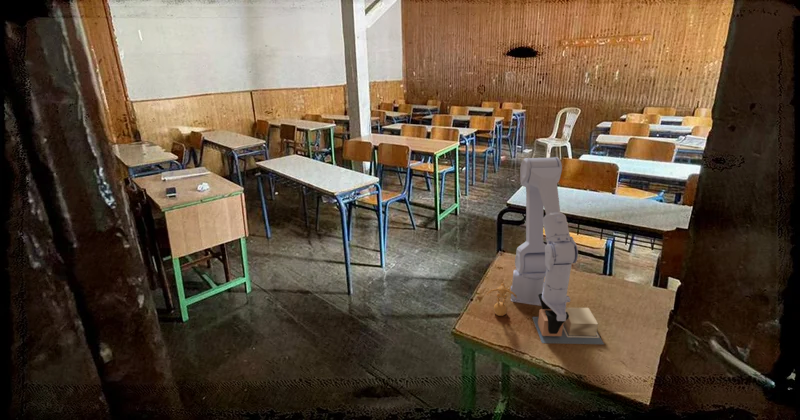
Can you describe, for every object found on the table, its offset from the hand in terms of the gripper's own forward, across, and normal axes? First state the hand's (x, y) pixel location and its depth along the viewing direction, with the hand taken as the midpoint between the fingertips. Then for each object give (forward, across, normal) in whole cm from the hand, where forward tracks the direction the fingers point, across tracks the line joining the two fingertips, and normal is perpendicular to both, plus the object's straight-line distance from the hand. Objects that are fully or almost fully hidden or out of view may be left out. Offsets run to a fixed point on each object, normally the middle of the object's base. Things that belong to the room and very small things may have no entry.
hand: (549, 326), depth 112 cm
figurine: (+3, +7, +12) cm, 14 cm away
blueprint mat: (+2, +1, -5) cm, 6 cm away
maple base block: (+2, +2, -8) cm, 9 cm away
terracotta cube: (+1, 0, 0) cm, 1 cm away
